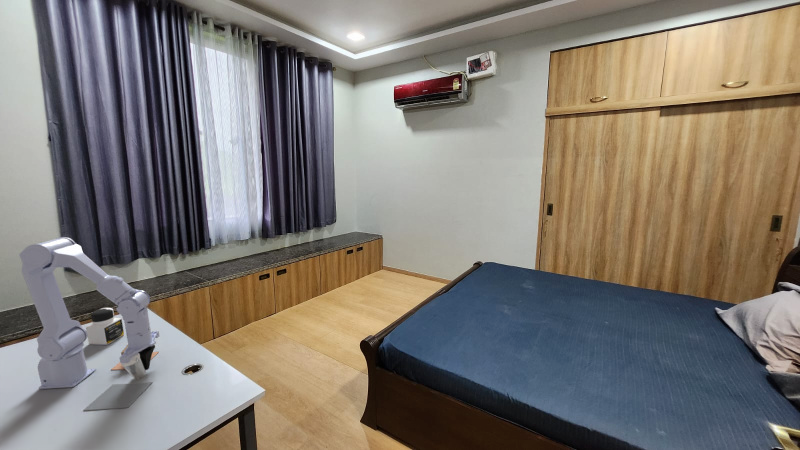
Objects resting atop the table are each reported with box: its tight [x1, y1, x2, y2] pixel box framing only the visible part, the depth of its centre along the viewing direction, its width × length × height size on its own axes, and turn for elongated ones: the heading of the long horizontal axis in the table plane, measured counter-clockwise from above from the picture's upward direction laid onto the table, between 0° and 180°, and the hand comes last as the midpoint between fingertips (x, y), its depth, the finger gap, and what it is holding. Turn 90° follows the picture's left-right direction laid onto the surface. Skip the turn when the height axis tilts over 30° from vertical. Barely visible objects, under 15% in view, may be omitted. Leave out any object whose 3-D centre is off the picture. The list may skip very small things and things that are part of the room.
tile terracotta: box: [110, 351, 160, 371], centre depth 104 cm, size 9×9×1 cm
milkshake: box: [119, 353, 147, 380], centre depth 94 cm, size 4×5×10 cm
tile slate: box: [83, 381, 153, 412], centre depth 89 cm, size 11×10×1 cm
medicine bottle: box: [85, 307, 125, 345], centre depth 116 cm, size 7×7×12 cm
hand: (144, 369), depth 99 cm, fingers closed
